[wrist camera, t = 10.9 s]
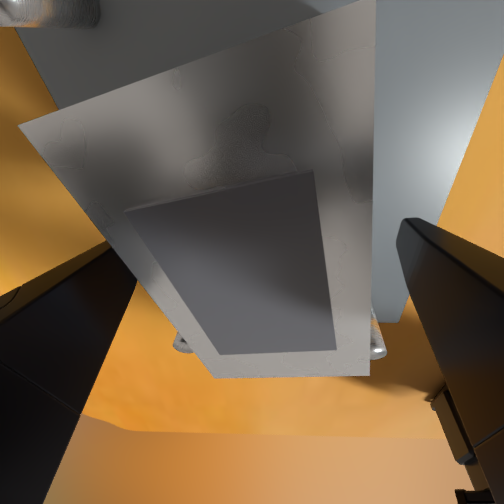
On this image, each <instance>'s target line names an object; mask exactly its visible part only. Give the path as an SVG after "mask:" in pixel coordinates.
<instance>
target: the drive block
mask: <svg viewBox="0 0 504 504" xmlns="http://www.w3.org/2000/svg"><path fill="white" fill-rule="evenodd" d="M375 37H376V0H359V1H357V2H354V3H351V4H348V5H346V6H343V7H340V8H337V9H335V10H332V11H329V12H326V13H324V14H321V15H318V16H315V17H313V18H310V19H307V20H304V21H302V22H299V23H296V24H294V25H291V26H288V27H285V28H283V29H280V30H277V31H274V32H272V33H269V34H266V35H263V36H261V37H258V38H255V39H252V40H250V41H247V42H244V43H242V44H239V45H236V46H233V47H231V48H228V49H225V50H222V51H220V52H217V53H214V54H211V55H209V56H206V57H203V58H200V59H198V60H195V61H192V62H189V63H187V64H184V65H181V66H179V67H176V68H173V69H170V70H168V71H165V72H162V73H159V74H157V75H154V76H151V77H148V78H146V79H143V80H140V81H137V82H135V83H132V84H129V85H127V86H124V87H121V88H118V89H116V90H113V91H110V92H107V93H105V94H102V95H99V96H96V97H94V98H91V99H88V100H85V101H83V102H80V103H77V104H74V105H72V106H69V107H66V108H64V109H61V110H58V111H55V112H53V113H50V114H47V115H44V116H42V117H39V118H36V119H33V120H31V121H28V122H25V123H22V124H20V125H17V126H18V127H19V128H20V130H21V131H22V132H23V133H24V135H25V136H26V137H27V139H28V140H29V141H30V142H31V144H32V145H33V146H34V148H35V149H36V150H37V151H38V153H39V154H40V155H41V157H42V158H43V159H44V160H45V162H46V163H47V164H48V166H49V167H50V168H51V169H52V171H53V172H54V173H55V174H56V176H57V177H58V178H59V180H60V181H61V182H62V183H63V185H64V186H65V187H66V189H67V190H68V191H69V192H70V194H71V195H72V196H73V198H74V199H75V200H76V201H77V203H78V204H79V205H80V207H81V208H82V209H83V210H84V212H85V213H86V214H87V215H88V217H89V218H90V219H91V221H92V222H93V223H94V224H95V226H96V227H97V228H98V230H99V231H100V232H101V233H102V235H103V236H104V237H105V239H106V240H107V241H108V242H109V244H110V245H111V246H112V248H113V249H114V250H115V251H116V253H117V254H118V255H119V257H120V258H121V259H122V260H123V262H124V263H125V264H126V265H127V267H128V268H129V269H130V271H131V272H132V273H133V274H134V276H135V277H136V278H137V280H138V281H139V282H140V283H141V285H142V286H143V287H144V289H145V290H146V291H147V292H148V294H149V295H150V296H151V298H152V299H153V300H154V301H155V303H156V304H157V305H158V306H159V308H160V309H161V310H162V312H163V313H164V314H165V315H166V317H167V318H168V319H169V321H170V322H171V323H172V324H173V326H174V327H175V328H176V330H177V331H178V332H179V333H180V335H181V336H182V337H183V339H184V340H185V341H186V342H187V344H188V345H189V346H190V347H191V349H192V350H193V351H194V353H195V354H196V355H197V356H198V358H199V359H200V360H201V362H202V363H203V364H204V365H205V367H206V368H207V369H208V371H209V372H210V373H211V374H212V376H213V377H214V378H266V377H324V376H370V329H371V271H372V212H373V154H374V95H375Z"/></svg>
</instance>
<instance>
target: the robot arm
mask: <svg viewBox="0 0 504 504" xmlns="http://www.w3.org/2000/svg"><path fill="white" fill-rule="evenodd" d="M396 249H397V252H398V256H399V260H400V264H401V268H402V271H403V275H404V279H405V282H406V286H407V289H408V291H409V294H410V296H411V299H412V301H413V304H414V306H415V308H416V311H417V313H418V316H419V318H420V321H421V323H422V325H423V328H424V330H425V333H426V335H427V337H428V340H429V342H430V345H431V347H432V350H433V352H434V354H435V357H436V359H437V362H438V364H439V367H440V369H441V371H442V374H443V376H444V379H445V381H446V385H445V386H444V387H443V388H442V390H441V391H440V392H439V393H438V395H437V396H436V397H435V398H434V400H433V401H432V402H431V404H430V405H431V408H432V410H434V411H436V413H437V415H438V418H439V420H440V423H441V425H442V428H443V431H444V433H445V436H446V438H447V441H448V443H449V446H450V448H451V451H452V453H453V456H454V458H455V460H456V461H457V462H458V463H459V464H460V465H465V468H466V470H467V473H468V475H469V477H470V480H471V482H472V485H473V487H474V490H475V491H466V490H464V489H455V494H456V498H457V501H458V504H504V258H502V257H500V256H498V255H496V254H494V253H492V252H490V251H488V250H486V249H484V248H481V247H479V246H477V245H475V244H473V243H471V242H469V241H467V240H465V239H463V238H460V237H458V236H456V235H454V234H452V233H450V232H448V231H446V230H444V229H442V228H440V227H437V226H435V225H433V224H431V223H429V222H427V221H425V220H423V219H421V218H418V217H414V218H404V219H403V220H402V221H401V224H400V228H399V231H398V235H397V238H396ZM136 283H137V278H136V277H135V276H134V274H133V273H132V272H131V271H130V269H129V268H128V267H127V265H126V264H125V263H124V262H123V260H122V259H121V258H120V257H119V255H118V254H117V253H116V251H115V250H114V249H113V248H112V246H111V245H110V244H109V242H108V241H107V240H106V241H104V242H102V243H101V244H99V245H97V246H95V247H93V248H91V249H89V250H87V251H85V252H84V253H82V254H80V255H78V256H76V257H74V258H72V259H70V260H68V261H66V262H65V263H63V264H61V265H59V266H57V267H55V268H53V269H51V270H49V271H47V272H46V273H44V274H42V275H40V276H38V277H36V278H34V279H32V280H30V281H28V282H27V283H25V284H23V285H22V286H19V287H17V288H15V289H13V290H11V291H9V292H8V293H6V294H4V295H2V296H0V504H43V502H44V500H45V498H46V495H47V492H48V491H49V488H50V486H51V484H52V481H53V479H54V476H55V474H56V472H57V470H58V467H59V465H60V463H61V460H62V458H63V455H64V453H65V451H66V449H67V446H68V444H69V442H70V439H71V437H72V434H73V432H74V430H75V427H76V425H77V423H78V421H79V418H80V414H81V413H82V411H83V408H84V406H85V404H86V401H87V399H88V397H89V395H90V392H91V390H92V388H93V385H94V383H95V381H96V378H97V376H98V374H99V371H100V369H101V367H102V364H103V362H104V360H105V357H106V355H107V353H108V350H109V348H110V346H111V343H112V341H113V339H114V336H115V334H116V332H117V329H118V327H119V325H120V322H121V320H122V318H123V315H124V313H125V311H126V308H127V306H128V304H129V301H130V299H131V297H132V294H133V292H134V289H135V286H136Z"/></svg>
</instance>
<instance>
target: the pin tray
mask: <svg viewBox="0 0 504 504" xmlns="http://www.w3.org/2000/svg"><path fill="white" fill-rule="evenodd" d="M357 1H359V0H0V26H1V27H14V28H15V30H16V31H17V33H18V35H19V37H20V39H21V41H22V43H23V44H24V46H25V48H26V50H27V52H28V54H29V55H30V57H31V59H32V61H33V63H34V65H35V67H36V68H37V70H38V72H39V74H40V76H41V78H42V79H43V81H44V83H45V85H46V87H47V89H48V91H49V92H50V94H51V96H52V98H53V100H54V102H55V103H56V105H57V107H58V109H59V110H61V109H64V108H66V107H69V106H72V105H74V104H77V103H80V102H83V101H85V100H88V99H91V98H94V97H96V96H99V95H102V94H105V93H107V92H110V91H113V90H116V89H118V88H121V87H124V86H127V85H129V84H132V83H135V82H137V81H140V80H143V79H146V78H148V77H151V76H154V75H157V74H159V73H162V72H165V71H168V70H170V69H173V68H176V67H179V66H181V65H184V64H187V63H189V62H192V61H195V60H198V59H200V58H203V57H206V56H209V55H211V54H214V53H217V52H220V51H222V50H225V49H228V48H231V47H233V46H236V45H239V44H242V43H244V42H247V41H250V40H252V39H255V38H258V37H261V36H263V35H266V34H269V33H272V32H274V31H277V30H280V29H283V28H285V27H288V26H291V25H294V24H296V23H299V22H302V21H304V20H307V19H310V18H313V17H315V16H318V15H321V14H324V13H326V12H329V11H332V10H335V9H337V8H340V7H343V6H346V5H348V4H351V3H354V2H357ZM503 54H504V0H376V37H375V95H374V154H373V212H372V271H371V329H370V360H376V359H380V358H383V357H384V356H386V354H387V350H386V347H385V343H384V340H383V337H382V334H381V331H380V328H379V324H378V323H398V322H399V320H400V317H401V314H402V312H403V309H404V307H405V304H406V302H407V299H408V297H409V291H408V289H407V286H406V282H405V279H404V275H403V271H402V268H401V264H400V260H399V256H398V252H397V249H396V238H397V235H398V231H399V228H400V224H401V221H402V220H403V219H404V218H414V217H418V218H421V219H423V220H425V221H427V222H429V223H431V224H433V225H435V226H436V225H437V223H438V220H439V218H440V215H441V212H442V210H443V207H444V205H445V202H446V200H447V197H448V195H449V192H450V190H451V187H452V184H453V182H454V179H455V177H456V174H457V172H458V169H459V167H460V164H461V161H462V159H463V156H464V154H465V151H466V149H467V146H468V144H469V141H470V138H471V136H472V133H473V131H474V128H475V126H476V123H477V121H478V118H479V116H480V113H481V110H482V108H483V105H484V103H485V100H486V98H487V95H488V93H489V90H490V87H491V85H492V82H493V80H494V77H495V75H496V72H497V70H498V67H499V65H500V62H501V59H502V57H503ZM173 347H174V348H175V349H176V350H178V351H180V352H183V353H193V352H194V351H193V350H192V349H191V347H190V346H189V345H188V344H187V342H186V341H185V340H184V339H183V337H182V336H181V335H180V333H179V332H177V335H176V338H175V340H174V343H173Z"/></svg>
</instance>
